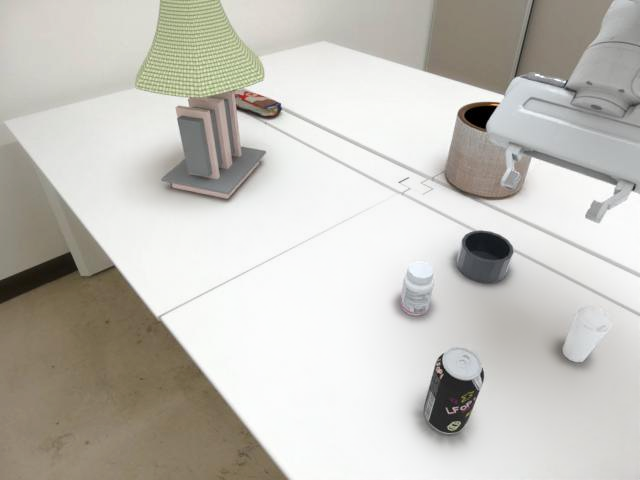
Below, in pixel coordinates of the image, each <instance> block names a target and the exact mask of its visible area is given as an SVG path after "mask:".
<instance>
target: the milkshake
mask: <svg viewBox="0 0 640 480" xmlns="http://www.w3.org/2000/svg"><path fill="white" fill-rule="evenodd" d="M612 327H613V321H612V318H611V316H610V314H609V313H608V312H607V311H606V310H605V309H603V308H601V307H600V306H596V305H590V304H589V305H583V306H580V307H578V308H577V309H576V311H575V315H574V318H573V320H572V323H571V326H570V329H569V330H568V334H567V336H566V338H565V340H564V343H563V345H562V349H561V350H562V354H563V355H564V357H565V358H566V359H567V360H569V361H571V362H574V363H583V362H584V361H585V360H586V359H587V358H588V357H589V355H590V353H592V351H593V350H594V349H595V347H596V346H597V344H598V343H599V342H600V341H601V340H602V339H603V337H604V336H605V335H606V334H607V333H608V332H609V330H610V329H611V328H612Z"/></svg>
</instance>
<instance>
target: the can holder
mask: <svg viewBox="0 0 640 480" xmlns="http://www.w3.org/2000/svg"><path fill="white" fill-rule="evenodd" d="M514 253H515V252H514V245H512V243H511V242H510V241H509V240H508V239H507V238H506V237H505V236H503V235H501V234H499V233H496V232H493V231H489V230H483V229H482V230H474V231H473V230H472V231H470V232H467V233H466V234H464V236H463V237H462V239H461V241H460V246H459V250H458V253H457V257H456V266H457V268H458V270H459V272H460V273H461V274H462V275H464V276H465V277H466V278H468V279H470V280H472V281H475V282H478V283H482V284H493V283H497V282H500V281H501V280H503V279H504V278H505V276H506V275H507V272H508V270H509V267H510V263H511V262H512V260H513V259H512V258H513V256H514Z"/></svg>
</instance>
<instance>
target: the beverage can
mask: <svg viewBox="0 0 640 480" xmlns="http://www.w3.org/2000/svg"><path fill="white" fill-rule="evenodd" d="M484 381H485V372H484V369H483V364H482V360H481V358H480V357H479V356H478V355H477V353H475V352H474V351H473V350H471V349H469V348H466V347H462V346H453V347H450V348H448V349H447V350H446V351H445V352H443V353H441V354H440V355H439V356H438V357H437V359H436V361H435V364H434V368H433V372H432V375H431V379H430V382H429V386H428V391H427V394H426V397H425V402H424V405H423V415H424V417H425V420H426V421H427V423H428V424H429V425H430V426H431V427H432V428H433V429H434V430H436V431H438V432H440V433H442V434H445V435H446V434H447V435H452V434H458V433H460V432H462V431H463V430H464V429H465V428H466V427H467V424H468V422H469V420H470V416H471V414H472V411H473V409H474V407H475V405H476V401H477V399H478V396H479V394H480V392H481V390H482V389H481V388H482V387H483V384H484Z"/></svg>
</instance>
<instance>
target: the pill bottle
mask: <svg viewBox="0 0 640 480" xmlns="http://www.w3.org/2000/svg"><path fill="white" fill-rule="evenodd" d="M434 272H435V270H434V267H433V266H432V265H431V264H430V263H429V262H426V261H424V260H415V261H411V262H410V263H409V264H408V266H407V271H406V273H405V274H404V276H403V281H402V289H401V295H400V301H399V302H400V303H399V304H400V305H399V306H400V308H401V310H403V311H404V312H405V313H407V314H408V315H411V316H422V315H424V314H426V313H427V312H428V310H429V308H430V304H431V298H432V293H433V289H434V285H435V281H434V280H435V279H434Z"/></svg>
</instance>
